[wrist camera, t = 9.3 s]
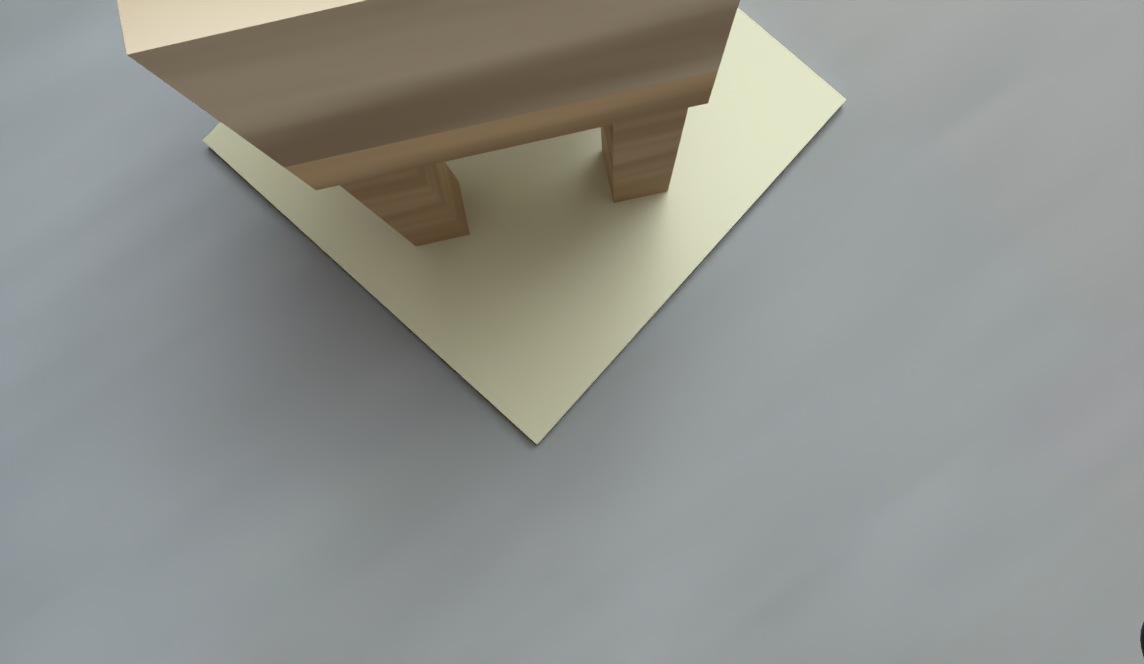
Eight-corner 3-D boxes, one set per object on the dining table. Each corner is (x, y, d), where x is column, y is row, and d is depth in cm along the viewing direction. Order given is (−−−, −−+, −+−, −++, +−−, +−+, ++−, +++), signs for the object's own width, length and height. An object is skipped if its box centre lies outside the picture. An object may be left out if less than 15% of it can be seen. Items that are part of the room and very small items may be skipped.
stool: (678, 197, 22) (767, -91, 9) (408, 257, 22) (126, 55, 9) (629, -22, 23) (648, -591, 10) (364, 38, 23) (35, -445, 10)
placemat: (538, 444, 22) (536, 444, 22) (209, 145, 23) (202, 140, 23) (842, 104, 23) (846, 99, 22) (507, -180, 23) (504, -190, 23)
